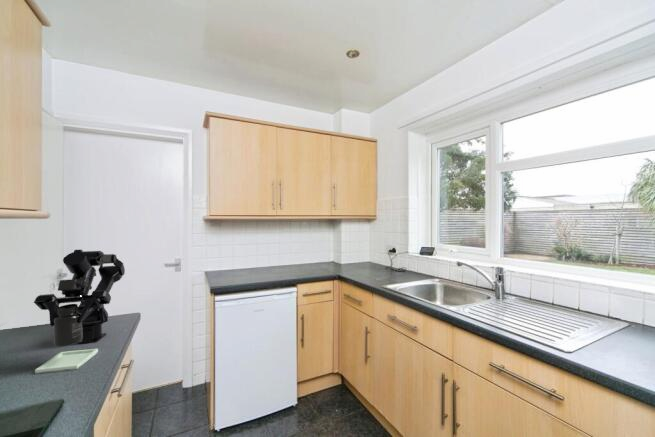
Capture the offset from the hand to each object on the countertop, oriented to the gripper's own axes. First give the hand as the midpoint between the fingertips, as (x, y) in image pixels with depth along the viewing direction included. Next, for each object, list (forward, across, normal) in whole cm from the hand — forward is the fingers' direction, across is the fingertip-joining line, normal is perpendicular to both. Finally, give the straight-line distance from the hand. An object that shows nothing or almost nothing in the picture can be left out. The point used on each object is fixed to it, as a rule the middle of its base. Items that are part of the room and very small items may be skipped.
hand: (65, 324), depth 87 cm
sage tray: (+8, 0, +10) cm, 13 cm away
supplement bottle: (+4, 0, +6) cm, 7 cm away
